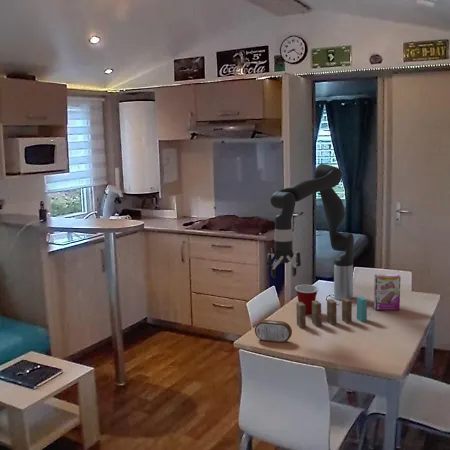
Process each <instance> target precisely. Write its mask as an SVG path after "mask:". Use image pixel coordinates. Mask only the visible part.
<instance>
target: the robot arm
mask: <svg viewBox="0 0 450 450" xmlns="http://www.w3.org/2000/svg"><path fill="white" fill-rule="evenodd" d="M342 176H343V173H342V170H341V169H340V168H339V167H337V166H333V165H329V164H326V163H320V164H318V165H317V166H316V168H315V169H314V178H312V179H307V180H302V181H299V182H297V183H296V184H293V185H292V186H289V187H286V188H282V189H279V190H277V191H275V192H274V193H273V194H272V195H271V197H270V204H271V206H272V207H273V208H275V209H281V210H282V211H281V213H279V214H277V215H275V216H274V235H273V236H274V252H273V253H267V254H266V267H267V268H268V269H270V272H271V273H270V274H271V277H272V278H273V279H276V278H277V276H276V275H277V274H276V273H277V272H276V271H277V270H276V268H277V267H278V265H280V264H289V265H291V276H292V277H296V276H297V268H298V267H301V265H302V262H301V253H300V252H299V251H298V250H297V251H293V231H292V230H293V225H292V219H293V215H294V211H295V207H296V203H297V202H299V201H302V200H304V199H306V198H307V197H309V196H311V195H313V194H316V193H319V194H320V199H321V202H322V205H323V211H324V216H325V219H326V223H327V227H328V233H329V240H330V246H331V249H332V250H333V251H336V252H337V251H338V252H345V254H344V255H341V256H338V257H335V258H334V259H333V272H334V273H333V284H334V285H333V288H334V289H333V297H334V299H335V300H339V301H342V298H348V299H350V300H352V299H353V298H354V247H355V238H354V234H353V233H352V232H343V231H342V232H341V231H340V232H339V231H338V228H339V226H340V225H341V223H342V222H343V221H344V219H345V215H346V211H345V206H344V202H343V200H342V199H341V198H340V196H339V194H337V192H336V191H335V189H333V188H335V187H338V185H340V183H341V180H342V178H343V177H342ZM293 257H295V262H294V260H293ZM273 258H274V260H273V263H272V259H273Z"/></svg>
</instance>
